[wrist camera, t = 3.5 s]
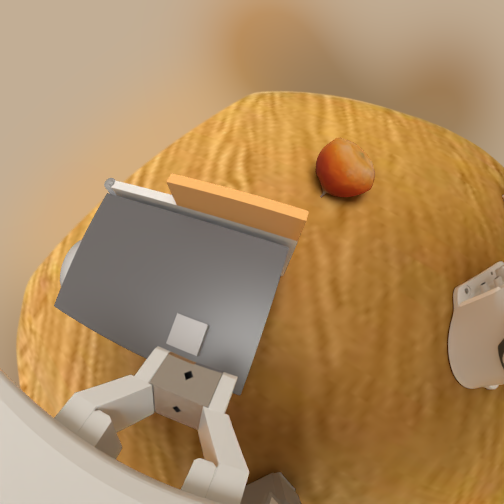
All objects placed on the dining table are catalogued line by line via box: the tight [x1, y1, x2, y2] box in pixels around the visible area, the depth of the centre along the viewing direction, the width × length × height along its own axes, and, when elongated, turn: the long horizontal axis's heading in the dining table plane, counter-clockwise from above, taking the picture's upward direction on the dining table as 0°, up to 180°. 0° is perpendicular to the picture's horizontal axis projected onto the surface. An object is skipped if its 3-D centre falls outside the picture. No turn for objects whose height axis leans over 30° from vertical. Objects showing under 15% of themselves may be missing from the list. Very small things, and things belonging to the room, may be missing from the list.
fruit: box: [316, 138, 375, 197], centre depth 33 cm, size 8×8×8 cm
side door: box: [104, 174, 309, 276], centre depth 26 cm, size 19×1×14 cm, turn 72°
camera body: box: [54, 193, 289, 395], centre depth 25 cm, size 20×12×11 cm, turn 72°
